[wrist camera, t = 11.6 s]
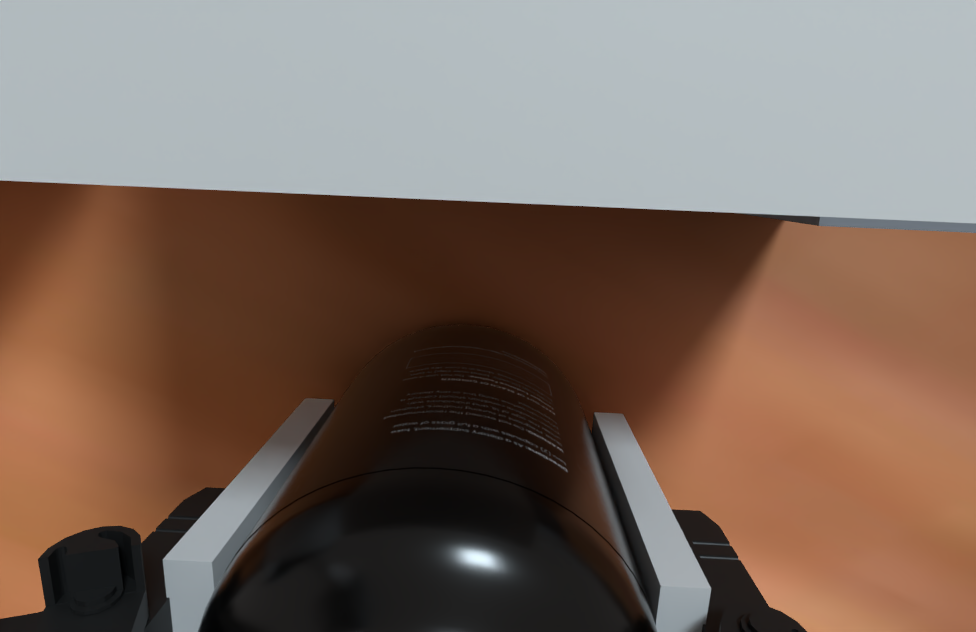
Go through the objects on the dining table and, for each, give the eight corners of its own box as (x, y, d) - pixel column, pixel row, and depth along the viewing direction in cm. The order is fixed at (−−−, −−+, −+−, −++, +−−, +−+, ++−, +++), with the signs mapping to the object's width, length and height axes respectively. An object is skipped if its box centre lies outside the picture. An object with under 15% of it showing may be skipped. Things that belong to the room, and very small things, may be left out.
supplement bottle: (294, 434, 16) (-219, 1074, 5) (461, 266, 15) (321, 570, 3) (467, 584, 17) (396, 1409, 6) (636, 437, 16) (986, 1118, 4)
